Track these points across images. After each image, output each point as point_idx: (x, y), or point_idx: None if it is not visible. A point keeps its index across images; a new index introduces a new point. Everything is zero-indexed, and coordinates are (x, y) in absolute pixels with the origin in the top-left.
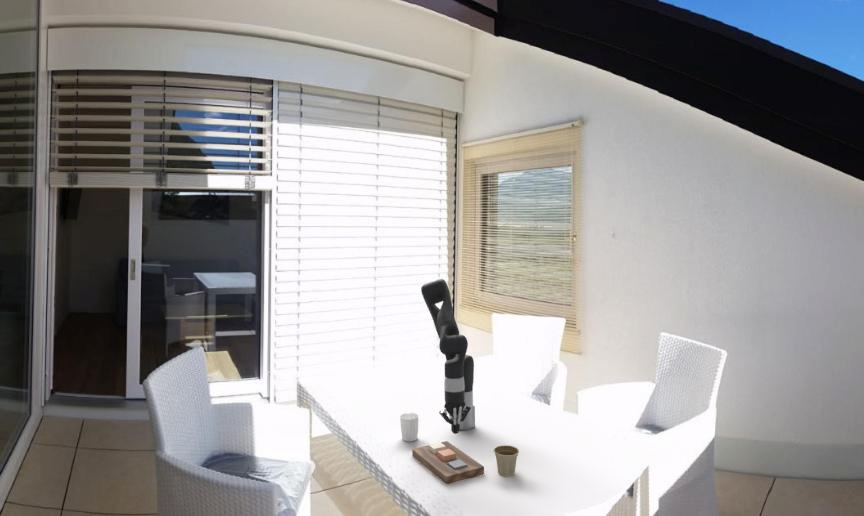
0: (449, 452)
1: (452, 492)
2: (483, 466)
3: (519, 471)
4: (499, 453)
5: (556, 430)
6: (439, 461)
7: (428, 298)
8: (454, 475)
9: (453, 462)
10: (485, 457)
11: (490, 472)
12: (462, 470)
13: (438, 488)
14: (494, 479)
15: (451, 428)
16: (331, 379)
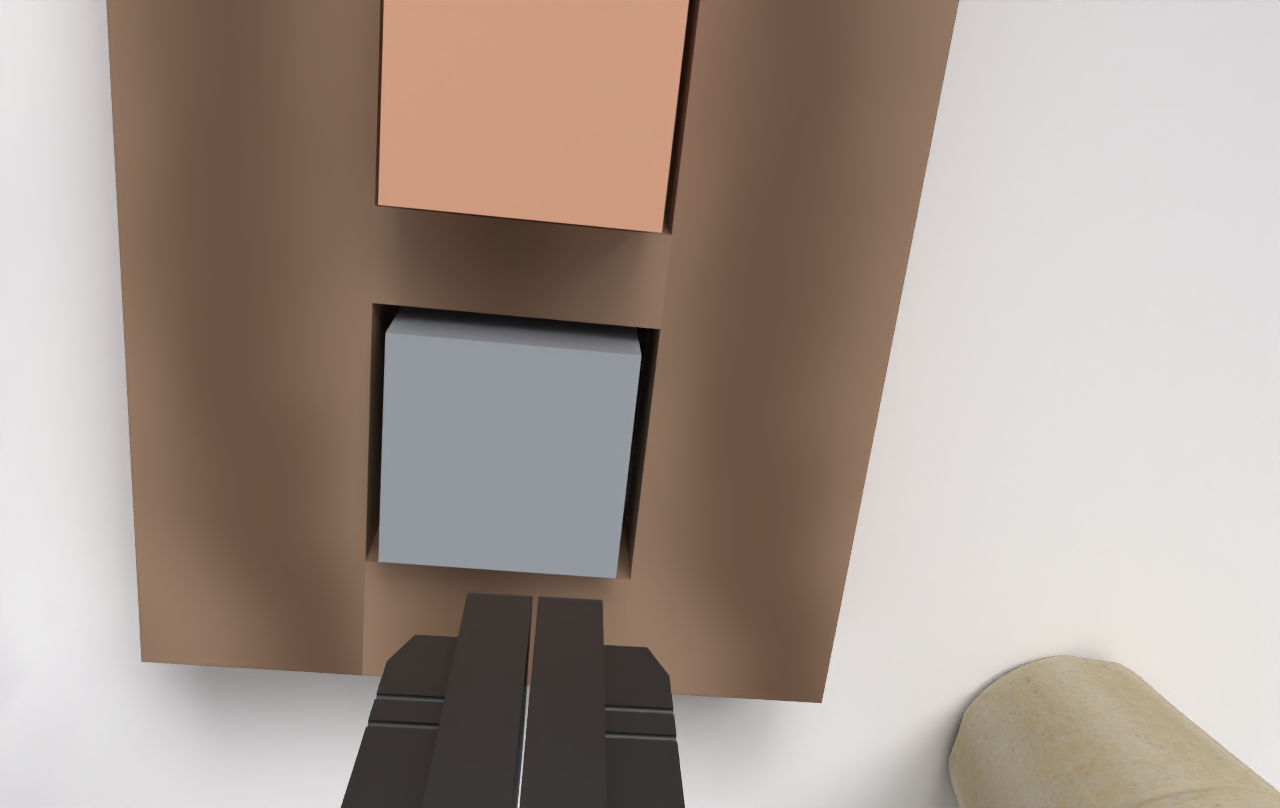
0: (581, 112)
1: (158, 780)
2: (817, 696)
3: None
4: (1189, 779)
5: None
6: (318, 135)
7: None
8: (292, 663)
9: (472, 396)
10: (1232, 214)
11: (907, 633)
12: None
13: (36, 615)
14: (806, 793)
15: (369, 722)
16: None
